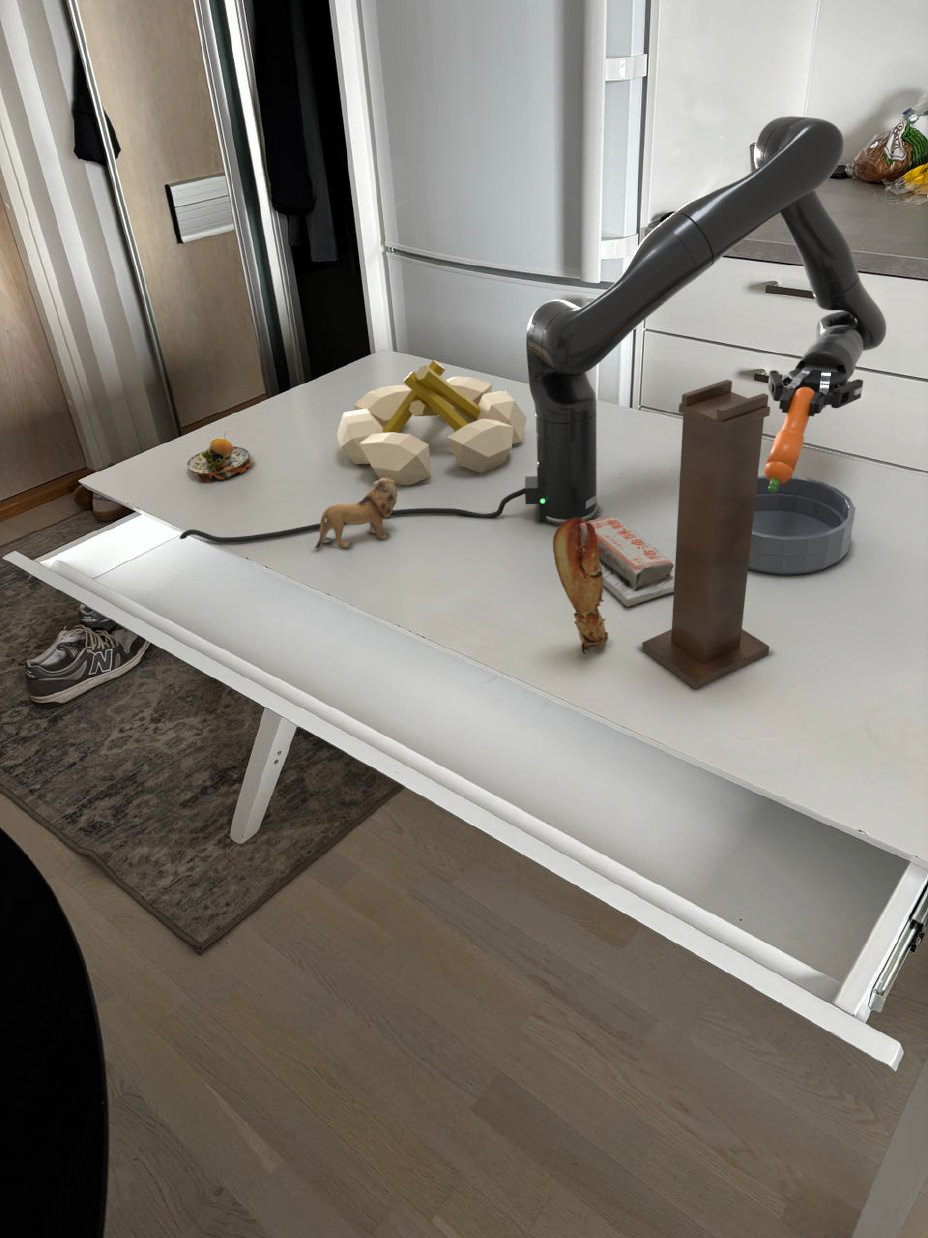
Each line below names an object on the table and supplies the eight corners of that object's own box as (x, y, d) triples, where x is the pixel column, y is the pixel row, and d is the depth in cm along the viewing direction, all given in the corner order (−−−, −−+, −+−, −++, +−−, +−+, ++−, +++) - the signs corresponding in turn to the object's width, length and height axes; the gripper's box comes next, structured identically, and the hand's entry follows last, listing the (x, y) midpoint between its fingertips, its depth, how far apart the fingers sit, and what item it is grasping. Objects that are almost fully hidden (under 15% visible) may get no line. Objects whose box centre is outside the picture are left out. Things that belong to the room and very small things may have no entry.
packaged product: (564, 523, 140) (622, 506, 143) (564, 551, 143) (622, 534, 146) (627, 579, 126) (691, 560, 129) (626, 609, 129) (689, 589, 132)
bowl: (719, 578, 134) (723, 541, 130) (702, 511, 150) (704, 477, 146) (864, 574, 131) (871, 537, 128) (830, 507, 148) (836, 472, 144)
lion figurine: (395, 519, 156) (388, 469, 151) (407, 532, 152) (401, 482, 147) (310, 544, 151) (300, 494, 146) (321, 559, 147) (311, 507, 142)
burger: (217, 450, 185) (208, 414, 181) (264, 459, 180) (256, 422, 176) (175, 477, 177) (164, 439, 172) (224, 486, 172) (214, 448, 167)
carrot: (786, 502, 129) (784, 486, 126) (758, 497, 131) (756, 482, 127) (821, 399, 134) (820, 381, 131) (794, 396, 136) (792, 379, 133)
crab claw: (552, 648, 123) (547, 512, 112) (576, 630, 126) (573, 495, 115) (596, 667, 119) (595, 528, 108) (619, 648, 122) (621, 510, 111)
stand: (695, 689, 114) (714, 423, 95) (641, 649, 121) (650, 395, 102) (768, 654, 119) (801, 393, 99) (713, 617, 126) (733, 368, 107)
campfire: (355, 501, 162) (339, 407, 153) (331, 428, 190) (317, 344, 180) (549, 465, 168) (546, 372, 158) (499, 399, 195) (493, 316, 186)
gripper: (782, 337, 144) (750, 376, 132) (880, 345, 138) (855, 388, 126) (777, 384, 148) (745, 426, 136) (871, 394, 142) (847, 440, 130)
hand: (798, 407), depth 131 cm, fingers closed on carrot, 3 cm apart
